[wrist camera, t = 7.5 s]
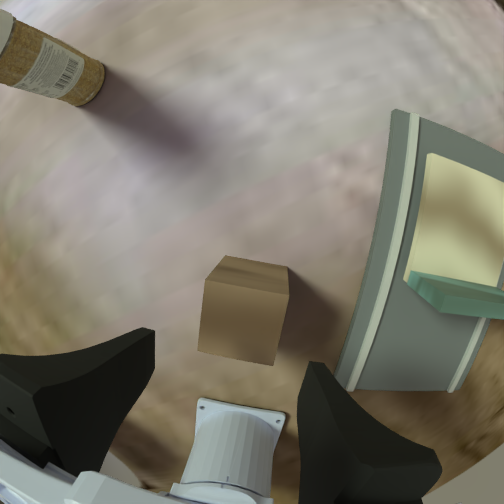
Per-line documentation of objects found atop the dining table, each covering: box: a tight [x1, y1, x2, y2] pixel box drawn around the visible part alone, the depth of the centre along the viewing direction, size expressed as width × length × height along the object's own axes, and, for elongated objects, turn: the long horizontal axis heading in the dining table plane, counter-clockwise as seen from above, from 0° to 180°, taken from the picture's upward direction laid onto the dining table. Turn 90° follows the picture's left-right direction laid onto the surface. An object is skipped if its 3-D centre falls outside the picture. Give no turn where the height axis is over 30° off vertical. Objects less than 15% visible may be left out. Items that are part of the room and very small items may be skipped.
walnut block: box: [198, 255, 289, 366], centre depth 19 cm, size 4×4×6 cm
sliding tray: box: [403, 153, 504, 320], centre depth 15 cm, size 9×9×6 cm
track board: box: [333, 109, 504, 393], centre depth 20 cm, size 22×14×1 cm, turn 171°
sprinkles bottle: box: [0, 9, 104, 106], centre depth 13 cm, size 5×5×14 cm
